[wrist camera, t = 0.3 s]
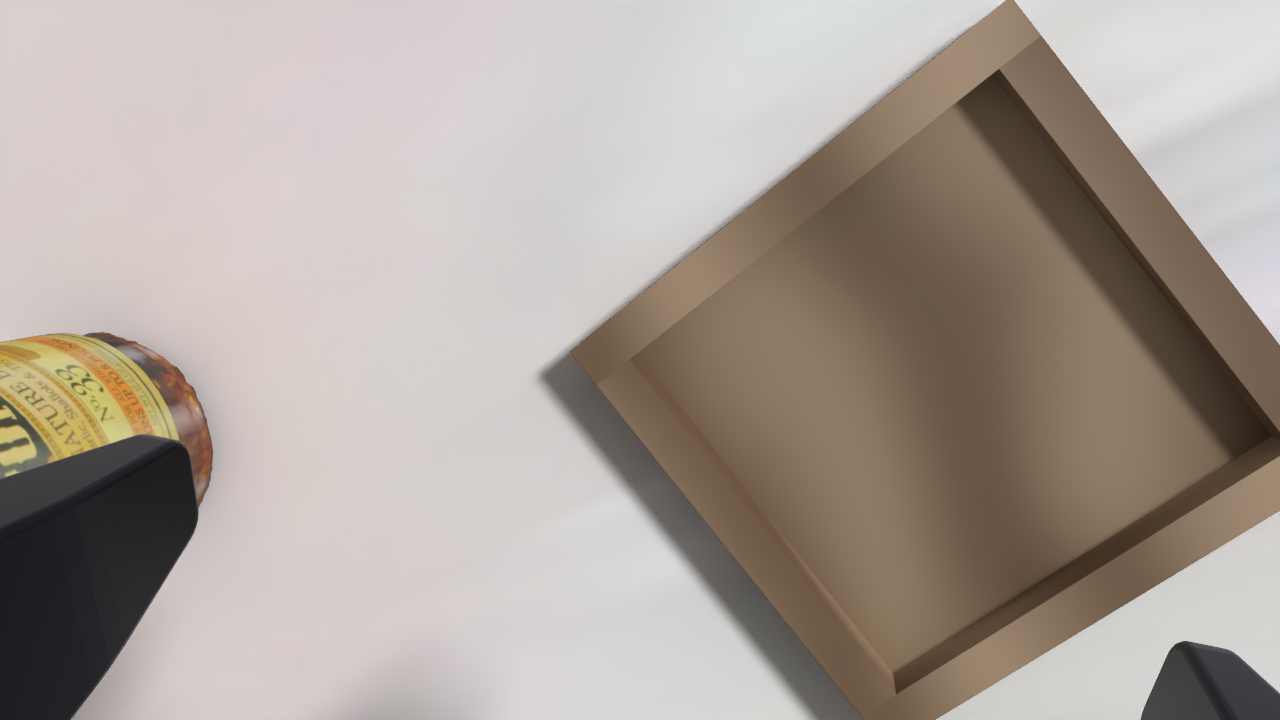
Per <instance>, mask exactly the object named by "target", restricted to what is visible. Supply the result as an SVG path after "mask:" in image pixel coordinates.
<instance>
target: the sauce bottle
mask: <svg viewBox="0 0 1280 720" xmlns="http://www.w3.org/2000/svg"><path fill="white" fill-rule="evenodd" d="M139 434H150V435H155V436H160V437H165V438H170V439H175V440H179V441H180V442H182V443H183V444H185V446H186V447H187V449H188V450H189V453H190V457H191V464H192V470H193V477H194V484H195V490H196V497H197V503H198V507H199V505H200V503H201V502H202V499H203V497H204V494H205V491H206V490H207V488H208V486H209V482H210V478H211V475H210V473H211V471H212V458H213V449H212V443H211V437H210V433H209V430H208V426H207V419H206V418H205V416H204V411H203V409H202V406H201V404H200V402H199V401H198V399H197V396H196V392H195V390H194V388H193V387H192V386H190V385H189V384H188V383H186V381H185V378H184V375H183V374H182V373H181V372H180V370H179V369H178V368H177V367H175V366H173V365H172V364H170V363H169V362H168V361H167V360H166V359H164V358H163V357H162V356H160V355H158V354H156V353H155V352H153V351H152V350H149V349H147V348H146V347H144V346H141V345H139V344H138V343H137V342H135V341H127V340H125V339H124V338H120V337H116V336H114V335H112V334H109V333H104V332H101V333H89V334H86V335H83V336H81V335H76V334H67V333H59V334H47V335H40V336H34V337H28V338H22V339H16V340H10V341H4V342H0V479H1V478H4V477H7V476H10V475H13V474H16V473H19V472H22V471H26V470H29V469H32V468H35V467H38V466H41V465H44V464H47V463H51V462H54V461H57V460H60V459H63V458H66V457H69V456H72V455H76V454H79V453H82V452H85V451H88V450H91V449H94V448H97V447H101V446H104V445H107V444H110V443H113V442H116V441H119V440H122V439H126V438H129V437H132V436H135V435H139Z"/></svg>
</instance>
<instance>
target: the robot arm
mask: <svg viewBox="0 0 1280 720" xmlns="http://www.w3.org/2000/svg"><path fill="white" fill-rule="evenodd" d="M197 521H198V503H197V497H196V490H195V484H194V477H193V470H192V464H191V457H190V453H189V450H188V449H187V447H186V446H185V444H183V443H182V442H180V441H179V440H175V439H170V438H165V437H160V436H155V435H150V434H139V435H135V436H132V437H129V438H126V439H122V440H119V441H116V442H113V443H110V444H107V445H104V446H101V447H97V448H94V449H91V450H88V451H85V452H82V453H79V454H76V455H72V456H69V457H66V458H63V459H60V460H57V461H54V462H51V463H47V464H44V465H41V466H38V467H35V468H32V469H29V470H26V471H22V472H19V473H16V474H13V475H10V476H7V477H4V478H1V479H0V720H71V719H72V717H73V716H74V715H75V713H76V712H77V711H78V710H79V708H80V707H81V706H82V704H83V703H84V702H85V700H86V699H87V698H88V697H89V695H90V694H91V693H92V691H93V690H94V689H95V687H96V686H97V685H98V683H99V682H100V680H101V679H102V678H103V676H104V675H105V674H106V672H107V671H108V670H109V668H110V667H111V665H112V664H113V662H114V661H115V659H116V658H117V656H118V655H119V653H120V652H121V650H122V649H123V647H124V646H125V644H126V643H127V641H128V639H129V638H130V636H131V634H132V633H133V631H134V630H135V628H136V626H137V625H138V623H139V622H140V620H141V618H142V617H143V615H144V614H145V612H146V610H147V609H148V607H149V605H150V604H151V602H152V601H153V599H154V597H155V596H156V594H157V593H158V591H159V589H160V588H161V586H162V584H163V583H164V581H165V580H166V578H167V576H168V575H169V573H170V572H171V570H172V568H173V567H174V565H175V563H176V562H177V560H178V559H179V557H180V555H181V554H182V552H183V551H184V549H185V547H186V546H187V544H188V542H189V541H190V539H191V537H192V535H193V534H194V531H195V528H196V525H197ZM1141 720H1280V693H1279V692H1278V691H1276V690H1275V689H1274V688H1273V687H1272V686H1271V685H1270V684H1269V683H1268V682H1267V681H1265V680H1264V679H1263V678H1262V677H1261V676H1260V675H1259V674H1258V673H1257V672H1256V671H1254V670H1253V669H1252V668H1251V667H1250V666H1249V665H1248V664H1247V663H1246V662H1245V661H1243V660H1242V659H1241V658H1240V657H1239V656H1238V655H1236V654H1235V653H1234V652H1232V651H1230V650H1227V649H1223V648H1218V647H1213V646H1208V645H1203V644H1198V643H1193V642H1188V641H1183V642H1180V643H1177V644H1175V645H1174V646H1173V647H1172V649H1171V650H1170V651H1169V653H1168V655H1167V657H1166V659H1165V662H1164V664H1163V666H1162V669H1161V671H1160V673H1159V675H1158V678H1157V680H1156V682H1155V684H1154V687H1153V689H1152V691H1151V693H1150V696H1149V698H1148V700H1147V702H1146V705H1145V707H1144V710H1143V713H1142V717H1141Z"/></svg>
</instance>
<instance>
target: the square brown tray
mask: <svg viewBox="0 0 1280 720" xmlns="http://www.w3.org/2000/svg"><path fill="white" fill-rule="evenodd" d="M570 353H571V354H572V356H573V357H574V358H575V359H576V360H577V362H578V363H579V364H580V365H581V367H582V368H583V369H584V370H585V372H586V373H587V374H588V375H589V377H590V378H591V379H592V380H593V382H594V383H595V384H596V385H597V387H598V388H599V389H600V390H601V392H602V393H603V394H604V395H605V397H606V398H607V399H608V400H609V402H610V403H611V404H612V405H613V407H614V408H615V409H616V410H617V412H618V413H619V414H620V415H621V417H622V418H623V419H624V420H625V422H626V423H627V424H628V425H629V427H630V428H631V429H632V430H633V432H634V433H635V434H636V435H637V437H638V438H639V439H640V440H641V442H642V443H643V444H644V445H645V447H646V448H647V449H648V450H649V452H650V453H651V454H652V455H653V457H654V458H655V459H656V460H657V462H658V463H659V464H660V465H661V467H662V468H663V469H664V470H665V472H666V473H667V474H668V475H669V477H670V478H671V479H672V480H673V482H674V483H675V484H676V485H677V487H678V488H679V489H680V490H681V492H682V493H683V494H684V495H685V497H686V498H687V499H688V500H689V502H690V503H691V504H692V505H693V507H694V508H695V509H696V510H697V512H698V513H699V514H700V515H701V517H702V518H703V519H704V520H705V522H706V523H707V524H708V525H709V527H710V528H711V529H712V530H713V532H714V533H715V534H716V535H717V537H718V538H719V539H720V540H721V542H722V543H723V544H724V545H725V547H726V548H727V549H728V550H729V552H730V553H731V554H732V555H733V557H734V558H735V559H736V560H737V562H738V563H739V564H740V565H741V567H742V568H743V569H744V570H745V572H746V573H747V574H748V575H749V577H750V578H751V579H752V580H753V582H754V583H755V584H756V585H757V587H758V588H759V589H760V590H761V592H762V593H763V594H764V595H765V597H766V598H767V599H768V600H769V602H770V603H771V604H772V605H773V607H774V608H775V609H776V610H777V612H778V613H779V614H780V615H781V617H782V618H783V619H784V620H785V622H786V623H787V624H788V625H789V627H790V628H791V629H792V630H793V632H794V633H795V634H796V635H797V637H798V638H799V639H800V640H801V642H802V643H803V644H804V645H805V647H806V648H807V649H808V650H809V651H810V653H811V654H812V655H813V656H814V658H815V659H816V660H817V661H818V663H819V664H820V665H821V666H822V668H823V669H824V670H825V671H826V673H827V674H828V675H829V676H830V678H831V679H832V680H833V681H834V683H835V684H836V685H837V686H838V688H839V689H840V690H841V691H842V693H843V694H844V695H845V696H846V698H847V699H848V700H849V701H850V703H851V704H852V705H853V706H854V708H855V709H856V710H857V711H858V713H859V714H860V715H861V716H862V718H863V719H864V720H936V719H937V718H939V717H940V716H942V715H944V714H945V713H947V712H949V711H950V710H952V709H954V708H955V707H957V706H959V705H960V704H962V703H964V702H965V701H967V700H968V699H970V698H972V697H973V696H975V695H977V694H978V693H980V692H982V691H983V690H985V689H987V688H988V687H990V686H992V685H993V684H995V683H997V682H998V681H1000V680H1001V679H1003V678H1005V677H1006V676H1008V675H1010V674H1011V673H1013V672H1015V671H1016V670H1018V669H1020V668H1021V667H1023V666H1025V665H1026V664H1028V663H1029V662H1031V661H1033V660H1034V659H1036V658H1038V657H1039V656H1041V655H1043V654H1044V653H1046V652H1048V651H1049V650H1051V649H1053V648H1054V647H1056V646H1057V645H1059V644H1061V643H1062V642H1064V641H1066V640H1067V639H1069V638H1071V637H1072V636H1074V635H1076V634H1077V633H1079V632H1081V631H1082V630H1084V629H1086V628H1087V627H1089V626H1090V625H1092V624H1094V623H1095V622H1097V621H1099V620H1100V619H1102V618H1104V617H1105V616H1107V615H1109V614H1110V613H1112V612H1114V611H1115V610H1117V609H1118V608H1120V607H1122V606H1123V605H1125V604H1127V603H1128V602H1130V601H1132V600H1133V599H1135V598H1137V597H1138V596H1140V595H1142V594H1143V593H1145V592H1146V591H1148V590H1150V589H1151V588H1153V587H1155V586H1156V585H1158V584H1160V583H1161V582H1163V581H1165V580H1166V579H1168V578H1170V577H1171V576H1173V575H1175V574H1176V573H1178V572H1179V571H1181V570H1183V569H1184V568H1186V567H1188V566H1189V565H1191V564H1193V563H1194V562H1196V561H1198V560H1199V559H1201V558H1203V557H1204V556H1206V555H1207V554H1209V553H1211V552H1212V551H1214V550H1216V549H1217V548H1219V547H1221V546H1222V545H1224V544H1226V543H1227V542H1229V541H1231V540H1232V539H1234V538H1235V537H1237V536H1239V535H1240V534H1242V533H1244V532H1245V531H1247V530H1249V529H1250V528H1252V527H1254V526H1255V525H1257V524H1259V523H1260V522H1262V521H1264V520H1265V519H1267V518H1268V517H1270V516H1272V515H1273V514H1275V513H1277V512H1278V511H1280V345H1279V344H1278V342H1277V341H1276V340H1275V339H1274V337H1273V336H1272V335H1271V333H1270V332H1269V331H1268V329H1267V328H1266V327H1265V326H1264V324H1263V323H1262V322H1261V320H1260V319H1259V318H1258V316H1257V315H1256V314H1255V313H1254V311H1253V310H1252V309H1251V307H1250V306H1249V305H1248V303H1247V302H1246V301H1245V300H1244V298H1243V297H1242V296H1241V294H1240V293H1239V292H1238V291H1237V289H1236V288H1235V287H1234V285H1233V284H1232V283H1231V281H1230V280H1229V279H1228V278H1227V276H1226V275H1225V274H1224V272H1223V271H1222V270H1221V268H1220V267H1219V266H1218V265H1217V263H1216V262H1215V261H1214V259H1213V258H1212V257H1211V255H1210V254H1209V253H1208V252H1207V250H1206V249H1205V248H1204V246H1203V245H1202V244H1201V242H1200V241H1199V240H1198V239H1197V237H1196V236H1195V235H1194V233H1193V232H1192V231H1191V230H1190V228H1189V227H1188V226H1187V224H1186V223H1185V222H1184V220H1183V219H1182V218H1181V217H1180V215H1179V214H1178V213H1177V211H1176V210H1175V209H1174V207H1173V206H1172V205H1171V204H1170V202H1169V201H1168V200H1167V198H1166V197H1165V196H1164V194H1163V193H1162V192H1161V191H1160V189H1159V188H1158V187H1157V185H1156V184H1155V183H1154V181H1153V180H1152V179H1151V178H1150V176H1149V175H1148V174H1147V172H1146V171H1145V170H1144V169H1143V167H1142V166H1141V165H1140V163H1139V162H1138V161H1137V159H1136V158H1135V157H1134V156H1133V154H1132V153H1131V152H1130V150H1129V149H1128V148H1127V146H1126V145H1125V144H1124V143H1123V141H1122V140H1121V139H1120V137H1119V136H1118V135H1117V133H1116V132H1115V131H1114V130H1113V128H1112V127H1111V126H1110V124H1109V123H1108V122H1107V120H1106V119H1105V118H1104V117H1103V115H1102V114H1101V113H1100V111H1099V110H1098V109H1097V108H1096V106H1095V105H1094V104H1093V102H1092V101H1091V100H1090V98H1089V97H1088V96H1087V95H1086V93H1085V92H1084V91H1083V89H1082V88H1081V87H1080V85H1079V84H1078V83H1077V82H1076V80H1075V79H1074V78H1073V76H1072V75H1071V74H1070V72H1069V71H1068V70H1067V69H1066V67H1065V66H1064V65H1063V63H1062V62H1061V61H1060V59H1059V58H1058V57H1057V56H1056V54H1055V53H1054V52H1053V50H1052V49H1051V48H1050V47H1049V45H1048V44H1047V43H1046V41H1045V40H1044V39H1043V37H1042V36H1041V35H1040V34H1039V32H1038V31H1037V30H1036V28H1035V27H1034V26H1033V24H1032V23H1031V22H1030V21H1029V19H1028V18H1027V17H1026V15H1025V14H1024V13H1023V11H1022V10H1021V9H1020V8H1019V6H1018V5H1017V4H1016V2H1015V1H1014V0H1006V1H1005V2H1003V3H1002V4H1001V5H1000V6H998V7H997V8H996V9H995V10H993V11H992V12H991V13H990V14H989V15H987V16H986V17H985V18H984V19H982V20H981V21H980V22H979V23H977V24H976V25H975V26H974V27H972V28H971V29H970V30H969V31H967V32H966V33H965V34H964V35H962V36H961V37H960V38H959V39H957V40H956V41H955V42H954V43H953V44H951V45H950V46H949V47H948V48H946V49H945V50H944V51H943V52H941V53H940V54H939V55H938V56H936V57H935V58H934V59H933V60H931V61H930V62H929V63H928V64H926V65H925V66H924V67H923V68H921V69H920V70H919V71H918V72H916V73H915V74H914V75H913V76H912V77H910V78H909V79H908V80H907V81H905V82H904V83H903V84H902V85H900V86H899V87H898V88H897V89H895V90H894V91H893V92H892V93H890V94H889V95H888V96H887V97H885V98H884V99H883V100H882V101H880V102H879V103H878V104H877V105H876V106H874V107H873V108H872V109H871V110H869V111H868V112H867V113H866V114H864V115H863V116H862V117H861V118H859V119H858V120H857V121H856V122H854V123H853V124H852V125H851V126H849V127H848V128H847V129H846V130H844V131H843V132H842V133H841V134H840V135H838V136H837V137H836V138H835V139H833V140H832V141H831V142H830V143H828V144H827V145H826V146H825V147H823V148H822V149H821V150H820V151H818V152H817V153H816V154H815V155H813V156H812V157H811V158H810V159H808V160H807V161H806V162H805V163H803V164H802V165H801V166H800V167H799V168H797V169H796V170H795V171H794V172H792V173H791V174H790V175H789V176H787V177H786V178H785V179H784V180H782V181H781V182H780V183H779V184H777V185H776V186H775V187H774V188H772V189H771V190H770V191H769V192H767V193H766V194H765V195H764V196H763V197H761V198H760V199H759V200H758V201H756V202H755V203H754V204H753V205H751V206H750V207H749V208H748V209H746V210H745V211H744V212H743V213H741V214H740V215H739V216H738V217H736V218H735V219H734V220H733V221H731V222H730V223H729V224H728V225H726V226H725V227H724V228H723V229H722V230H720V231H719V232H718V233H717V234H715V235H714V236H713V237H712V238H710V239H709V240H708V241H707V242H705V243H704V244H703V245H702V246H700V247H699V248H698V249H697V250H695V251H694V252H693V253H692V254H690V255H689V256H688V257H687V258H686V259H684V260H683V261H682V262H681V263H679V264H678V265H677V266H676V267H674V268H673V269H672V270H671V271H669V272H668V273H667V274H666V275H664V276H663V277H662V278H661V279H659V280H658V281H657V282H656V283H654V284H653V285H652V286H651V287H650V288H648V289H647V290H646V291H645V292H643V293H642V294H641V295H640V296H638V297H637V298H636V299H635V300H633V301H632V302H631V303H630V304H628V305H627V306H626V307H625V308H623V309H622V310H621V311H620V312H618V313H617V314H616V315H615V316H613V317H612V318H611V319H610V320H609V321H607V322H606V323H605V324H604V325H602V326H601V327H600V328H599V329H597V330H596V331H595V332H594V333H592V334H591V335H590V336H589V337H587V338H586V339H585V340H584V341H582V342H581V343H580V344H579V345H577V346H576V347H575V348H574V349H573V350H571V351H570Z"/></svg>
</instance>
